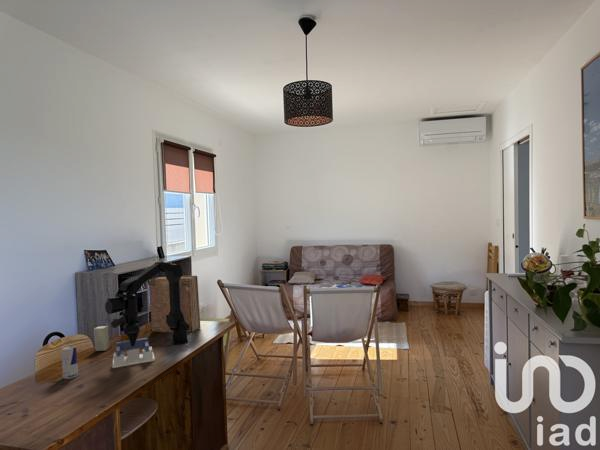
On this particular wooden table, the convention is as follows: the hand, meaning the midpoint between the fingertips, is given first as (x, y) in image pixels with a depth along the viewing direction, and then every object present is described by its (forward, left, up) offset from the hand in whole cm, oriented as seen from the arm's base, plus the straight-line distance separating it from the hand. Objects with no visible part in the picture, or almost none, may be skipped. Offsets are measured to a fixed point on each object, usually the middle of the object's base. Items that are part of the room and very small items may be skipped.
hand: (132, 343), depth 185 cm
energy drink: (+24, +9, -7) cm, 27 cm away
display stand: (0, +2, -7) cm, 8 cm away
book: (-23, -39, -8) cm, 46 cm away
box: (+14, -24, -8) cm, 29 cm away
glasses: (0, +4, -2) cm, 4 cm away
